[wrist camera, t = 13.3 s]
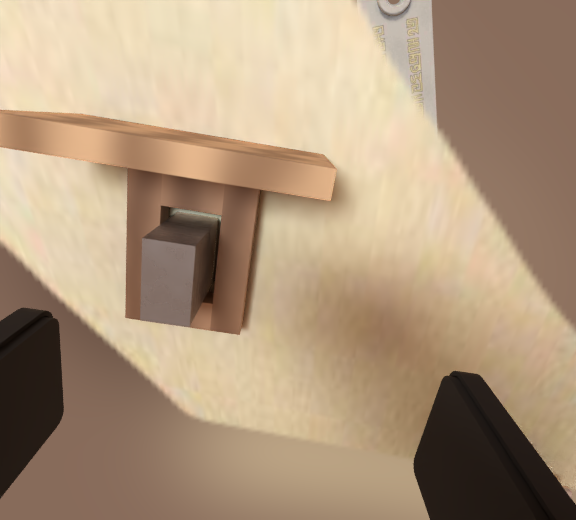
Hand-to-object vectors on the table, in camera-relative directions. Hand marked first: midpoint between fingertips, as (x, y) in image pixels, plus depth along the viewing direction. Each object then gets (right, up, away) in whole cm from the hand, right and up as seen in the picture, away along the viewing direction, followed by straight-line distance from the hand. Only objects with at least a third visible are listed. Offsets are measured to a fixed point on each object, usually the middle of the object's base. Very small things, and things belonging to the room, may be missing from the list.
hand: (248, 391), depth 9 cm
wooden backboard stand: (-8, +6, +28) cm, 30 cm away
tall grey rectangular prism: (-8, +4, +29) cm, 30 cm away
